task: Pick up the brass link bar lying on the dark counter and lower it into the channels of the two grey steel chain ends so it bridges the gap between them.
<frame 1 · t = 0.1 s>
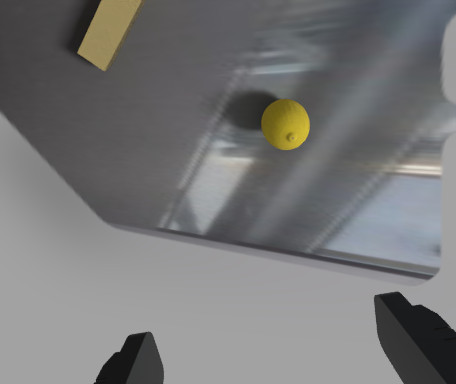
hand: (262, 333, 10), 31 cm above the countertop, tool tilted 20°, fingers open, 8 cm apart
lemon: (278, 111, 38), on the countertop
link bar: (126, 3, 31), on the countertop
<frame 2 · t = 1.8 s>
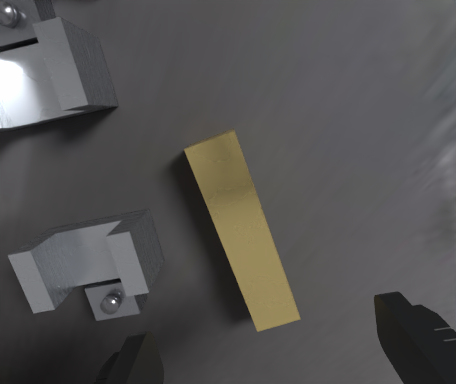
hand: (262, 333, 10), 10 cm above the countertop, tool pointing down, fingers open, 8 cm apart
chain ends: (81, 171, 20), on the countertop
link bar: (245, 222, 21), on the countertop
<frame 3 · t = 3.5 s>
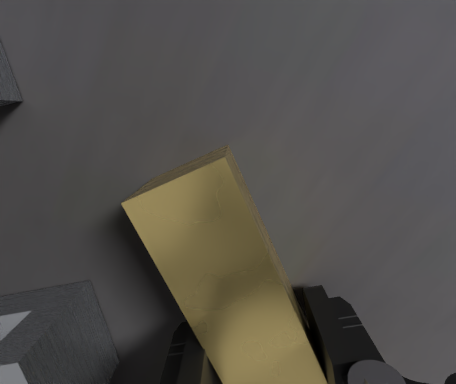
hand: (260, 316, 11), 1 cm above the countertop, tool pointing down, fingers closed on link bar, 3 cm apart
link bar: (260, 307, 12), on the countertop, touching gripper
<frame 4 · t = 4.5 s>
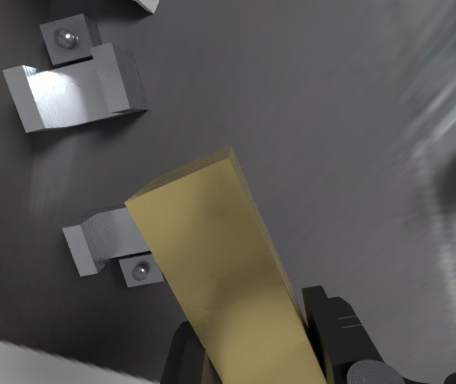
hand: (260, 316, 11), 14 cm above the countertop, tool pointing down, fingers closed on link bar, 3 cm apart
chain ends: (117, 162, 24), on the countertop
link bar: (260, 307, 12), point 13 cm above the countertop, touching gripper
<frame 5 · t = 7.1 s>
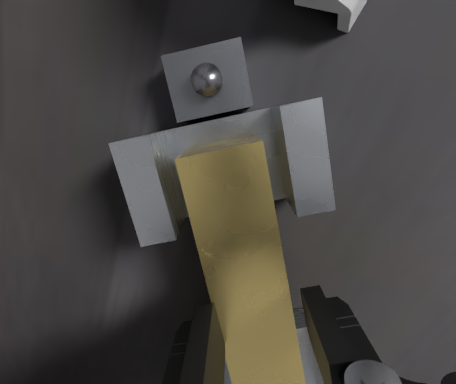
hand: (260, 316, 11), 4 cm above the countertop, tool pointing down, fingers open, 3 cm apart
chain ends: (248, 260, 16), on the countertop
link bar: (249, 274, 14), point 1 cm above the countertop, touching chain ends, gripper
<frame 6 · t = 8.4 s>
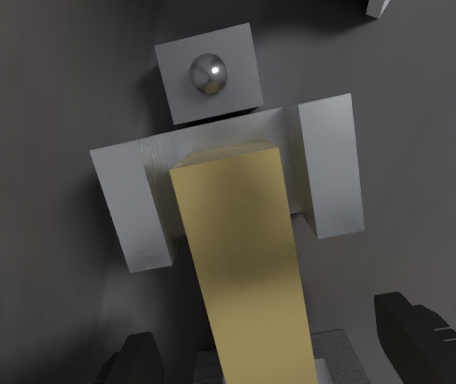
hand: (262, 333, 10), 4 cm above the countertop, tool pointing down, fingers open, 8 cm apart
chain ends: (256, 280, 14), on the countertop
link bar: (258, 298, 12), point 1 cm above the countertop, touching chain ends
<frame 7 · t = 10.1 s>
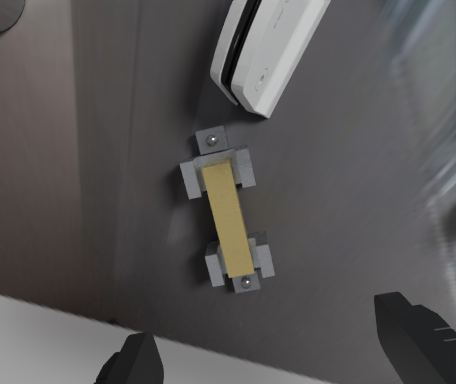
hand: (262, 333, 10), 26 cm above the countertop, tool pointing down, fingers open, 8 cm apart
chain ends: (230, 210, 36), on the countertop
link bar: (230, 214, 35), point 1 cm above the countertop, touching chain ends
white rounded housing: (272, 33, 31), on the countertop
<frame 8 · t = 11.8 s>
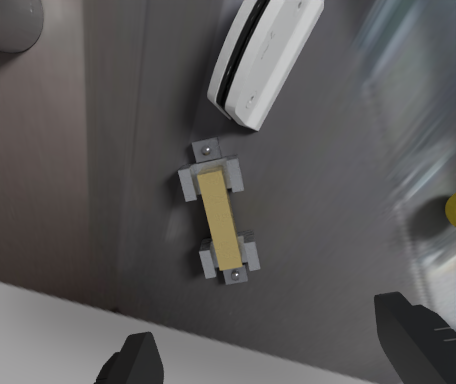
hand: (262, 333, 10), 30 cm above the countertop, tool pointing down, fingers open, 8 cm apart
lemon: (451, 202, 40), on the countertop
chain ends: (222, 211, 41), on the countertop
link bar: (221, 214, 40), point 1 cm above the countertop, touching chain ends
white rounded housing: (261, 57, 36), on the countertop
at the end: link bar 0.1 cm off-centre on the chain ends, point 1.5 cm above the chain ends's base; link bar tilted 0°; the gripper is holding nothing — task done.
